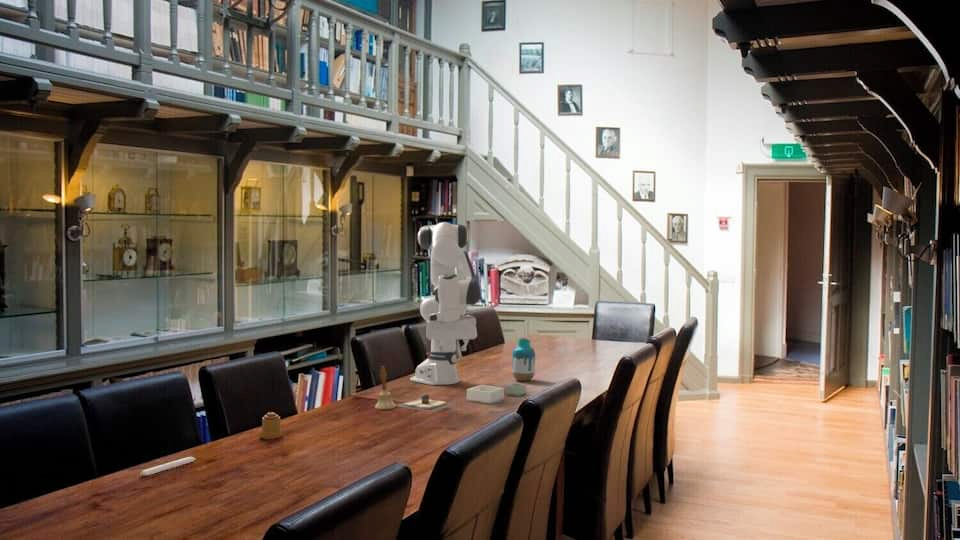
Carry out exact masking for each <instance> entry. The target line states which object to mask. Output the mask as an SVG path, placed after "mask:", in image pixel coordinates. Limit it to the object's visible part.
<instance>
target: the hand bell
mask: <svg viewBox="0 0 960 540" xmlns="http://www.w3.org/2000/svg"><path fill="white" fill-rule="evenodd" d="M379 377H380V381H381V389H382V391H381V392H379V393H378V400H377V402H376V404H375V406H374V408H376V409H380V410H390V409H394V408H396V407H397V406H396V405H397V404H396V403H395V402H394V401H393V399H392V398H393V397H392V394H391V392H390V391H388V389H387V378H388V374H387V370H386V368H385V365H381V366H380V371H379Z"/></svg>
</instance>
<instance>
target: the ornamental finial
mask: <svg viewBox="0 0 960 540" xmlns="http://www.w3.org/2000/svg"><path fill="white" fill-rule="evenodd" d="M261 418H262V420H261V430H260V431H259V436H260V437H259V438H261V439H263V438H267V439H266V440H274V439H273V438H278V439H280V438H282V437H283V435H284V431H283V429H282V428H281V427H282V426H281V416H279V414H276V412H273V411H271V412H267V413H266V414H264V416H263V417H261ZM279 437H280V438H279Z"/></svg>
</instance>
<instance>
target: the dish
mask: <svg viewBox="0 0 960 540" xmlns="http://www.w3.org/2000/svg"><path fill="white" fill-rule="evenodd" d="M466 401H469V402H475V403H482V404H489V405H491V404H493V403H500V402H503V401H505V387H499V386H493V385H486V384H478V385H476V386H473V387H470V388H469V387H468V388H467V389H466Z"/></svg>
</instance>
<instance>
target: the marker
mask: <svg viewBox="0 0 960 540" xmlns="http://www.w3.org/2000/svg"><path fill="white" fill-rule="evenodd" d="M196 459H197V458H195V457H194V456H187V457H184V458H180V459H178V460H174V461H169V462H167V463H166V462H165V463H162V464H160V465H157V466H153V467H150V468H147V469H143V470H141V471H140V475H141V474H143V475H150V474H154V473H157V472H160V471H163V470H166V469H170V468H172V467H176V466H179V465H182V464H186V463H190V462H193V461H194V460H195V461H196ZM195 461H194V462H195ZM194 462H193V463H194ZM154 475H155V474H154Z"/></svg>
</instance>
